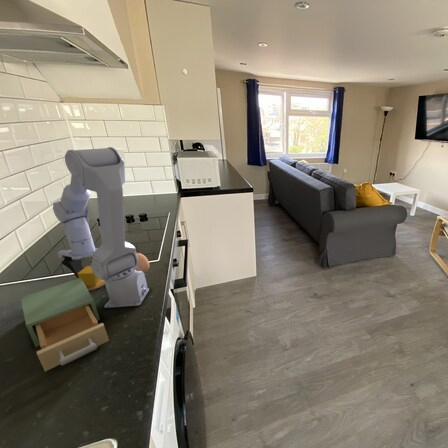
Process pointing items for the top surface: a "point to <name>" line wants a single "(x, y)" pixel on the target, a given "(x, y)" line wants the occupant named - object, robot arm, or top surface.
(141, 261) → the egg
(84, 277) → the orange block
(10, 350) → the top surface
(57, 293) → the cabinet
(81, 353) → the drawer
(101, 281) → the coaster
